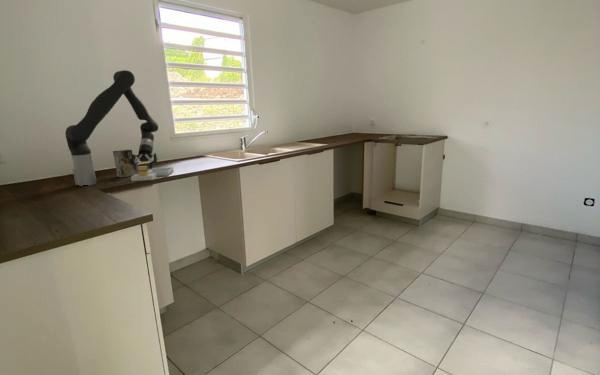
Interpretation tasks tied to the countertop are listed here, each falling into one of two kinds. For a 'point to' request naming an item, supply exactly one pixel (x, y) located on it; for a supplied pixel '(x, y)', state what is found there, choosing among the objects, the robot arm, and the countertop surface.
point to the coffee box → (124, 163)
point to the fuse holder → (143, 177)
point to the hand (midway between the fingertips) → (142, 169)
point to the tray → (161, 171)
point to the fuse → (142, 170)
